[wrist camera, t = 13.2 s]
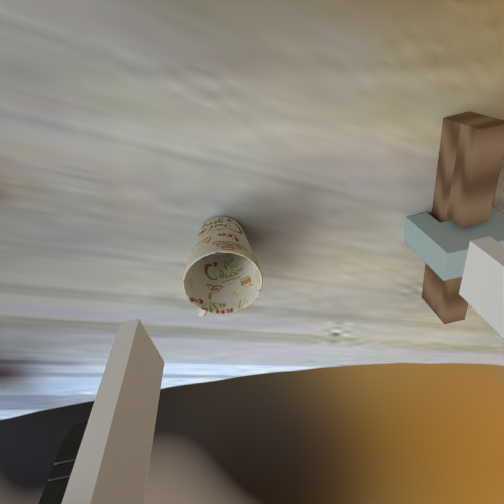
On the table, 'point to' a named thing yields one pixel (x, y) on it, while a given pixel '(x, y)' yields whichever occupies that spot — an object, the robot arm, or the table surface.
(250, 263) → the mug
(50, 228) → the table surface
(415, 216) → the blue-grey notched block
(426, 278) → the walnut rail
